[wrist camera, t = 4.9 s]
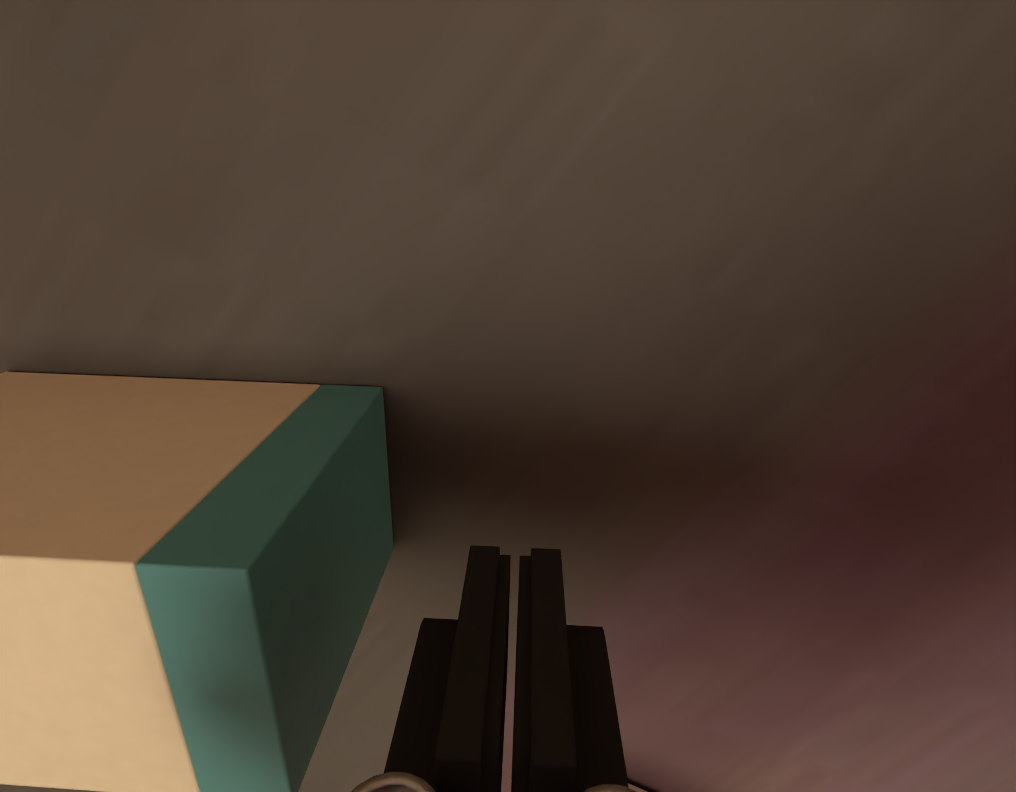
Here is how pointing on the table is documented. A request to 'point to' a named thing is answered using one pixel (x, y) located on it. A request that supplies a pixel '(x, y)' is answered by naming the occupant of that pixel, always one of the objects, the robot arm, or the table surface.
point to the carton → (181, 576)
